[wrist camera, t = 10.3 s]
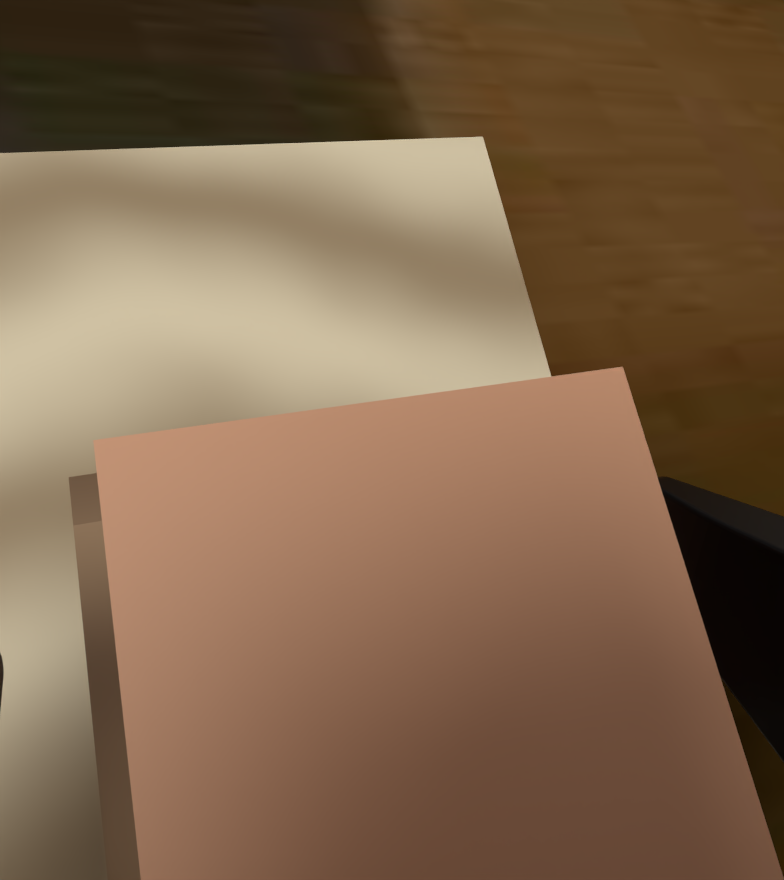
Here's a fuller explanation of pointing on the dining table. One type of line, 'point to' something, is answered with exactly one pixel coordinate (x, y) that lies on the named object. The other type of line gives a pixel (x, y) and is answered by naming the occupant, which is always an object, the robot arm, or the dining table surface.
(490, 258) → the board
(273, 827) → the pillar
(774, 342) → the dining table surface
